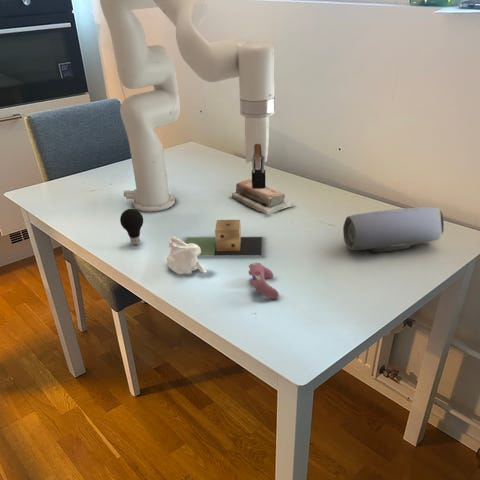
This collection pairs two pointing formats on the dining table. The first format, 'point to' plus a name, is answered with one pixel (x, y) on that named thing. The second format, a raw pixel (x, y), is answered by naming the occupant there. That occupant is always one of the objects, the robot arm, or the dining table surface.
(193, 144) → the dining table surface
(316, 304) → the dining table surface
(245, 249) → the dice mat
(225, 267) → the dining table surface
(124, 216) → the light bulb
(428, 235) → the bluetooth speaker
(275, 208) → the packaged product
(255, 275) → the video game controller
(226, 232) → the die
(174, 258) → the rabbit figurine
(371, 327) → the dining table surface
